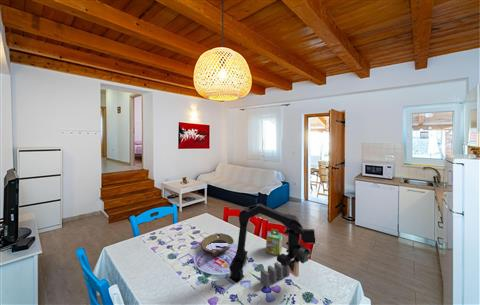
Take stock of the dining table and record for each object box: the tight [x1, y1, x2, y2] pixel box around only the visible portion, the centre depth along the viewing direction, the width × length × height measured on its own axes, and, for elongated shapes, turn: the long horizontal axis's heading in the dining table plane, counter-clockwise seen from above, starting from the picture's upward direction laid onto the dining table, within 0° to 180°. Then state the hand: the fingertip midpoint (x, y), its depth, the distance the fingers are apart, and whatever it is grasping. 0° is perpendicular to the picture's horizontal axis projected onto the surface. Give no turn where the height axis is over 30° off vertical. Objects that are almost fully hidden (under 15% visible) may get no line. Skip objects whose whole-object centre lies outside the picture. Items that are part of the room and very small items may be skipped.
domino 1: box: [260, 268, 270, 289], centre depth 108 cm, size 2×5×7 cm, turn 33°
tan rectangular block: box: [289, 260, 300, 278], centre depth 106 cm, size 2×5×7 cm, turn 34°
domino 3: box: [273, 261, 284, 281], centre depth 114 cm, size 2×5×7 cm, turn 33°
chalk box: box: [265, 228, 283, 256], centre depth 140 cm, size 9×9×15 cm
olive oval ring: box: [200, 232, 235, 257], centre depth 142 cm, size 22×30×8 cm
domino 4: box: [280, 263, 291, 278], centre depth 117 cm, size 2×5×7 cm, turn 34°
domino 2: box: [267, 265, 278, 285], centre depth 111 cm, size 2×5×7 cm, turn 33°
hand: (293, 270), depth 107 cm, fingers closed on tan rectangular block, 2 cm apart
